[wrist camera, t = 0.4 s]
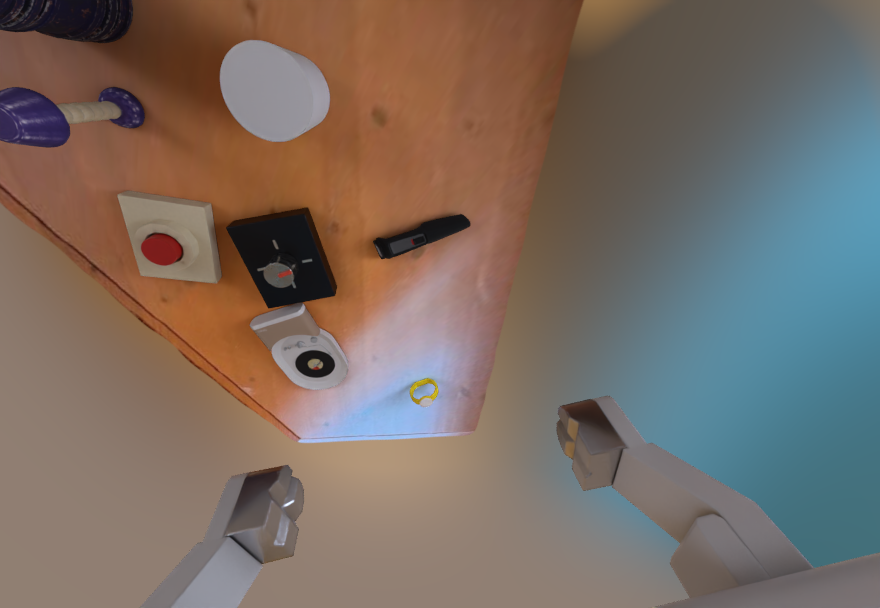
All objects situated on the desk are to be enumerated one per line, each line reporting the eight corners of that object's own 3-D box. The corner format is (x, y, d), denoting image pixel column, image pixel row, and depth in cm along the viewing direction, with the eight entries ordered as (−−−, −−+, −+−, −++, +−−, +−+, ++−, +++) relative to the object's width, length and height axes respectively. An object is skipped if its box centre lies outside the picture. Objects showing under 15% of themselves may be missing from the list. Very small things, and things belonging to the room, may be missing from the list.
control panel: (233, 220, 49) (225, 228, 46) (308, 207, 49) (303, 214, 46) (273, 298, 56) (268, 309, 54) (337, 286, 57) (335, 296, 54)
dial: (280, 279, 51) (273, 292, 48) (264, 258, 49) (256, 269, 46) (303, 271, 51) (298, 283, 48) (289, 249, 49) (283, 260, 46)
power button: (145, 231, 44) (137, 236, 43) (179, 235, 45) (172, 240, 44) (152, 258, 46) (144, 263, 45) (185, 261, 47) (178, 267, 46)
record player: (306, 308, 55) (356, 385, 66) (310, 298, 57) (357, 373, 69) (241, 330, 55) (302, 402, 67) (247, 319, 58) (305, 390, 69)
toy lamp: (134, 83, 39) (-3, 82, 25) (159, 127, 41) (47, 148, 27) (93, 90, 38) (-69, 93, 25) (120, 134, 41) (-12, 159, 27)
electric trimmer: (468, 228, 55) (473, 235, 52) (380, 258, 55) (380, 266, 52) (463, 206, 52) (467, 212, 50) (371, 237, 53) (371, 245, 50)
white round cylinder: (247, 60, 39) (200, 51, 29) (314, 44, 39) (290, 30, 29) (279, 135, 44) (248, 150, 34) (339, 121, 44) (326, 131, 34)
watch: (411, 389, 73) (413, 411, 68) (407, 381, 72) (409, 402, 67) (437, 382, 73) (441, 403, 68) (434, 373, 72) (437, 394, 67)
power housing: (127, 190, 44) (107, 198, 41) (211, 202, 47) (198, 211, 44) (149, 269, 51) (133, 281, 47) (222, 276, 53) (211, 289, 50)
